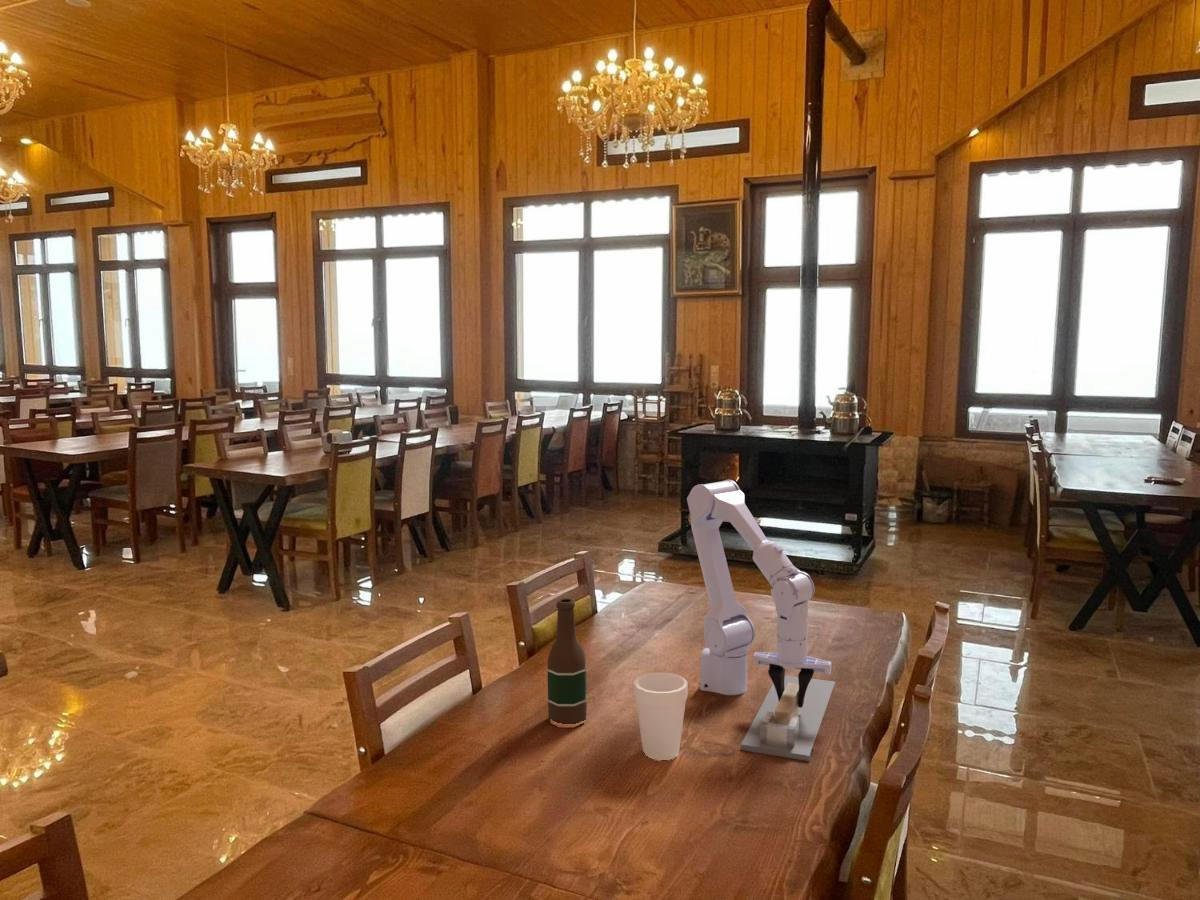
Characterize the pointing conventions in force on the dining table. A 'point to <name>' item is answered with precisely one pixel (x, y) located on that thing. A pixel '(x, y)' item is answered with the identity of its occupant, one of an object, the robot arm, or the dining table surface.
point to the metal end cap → (779, 731)
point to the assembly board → (808, 720)
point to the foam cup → (660, 713)
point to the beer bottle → (566, 670)
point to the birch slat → (787, 704)
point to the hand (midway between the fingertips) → (791, 704)
